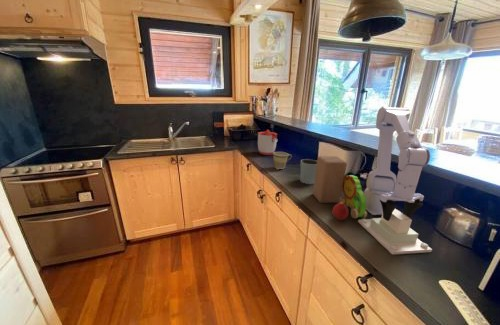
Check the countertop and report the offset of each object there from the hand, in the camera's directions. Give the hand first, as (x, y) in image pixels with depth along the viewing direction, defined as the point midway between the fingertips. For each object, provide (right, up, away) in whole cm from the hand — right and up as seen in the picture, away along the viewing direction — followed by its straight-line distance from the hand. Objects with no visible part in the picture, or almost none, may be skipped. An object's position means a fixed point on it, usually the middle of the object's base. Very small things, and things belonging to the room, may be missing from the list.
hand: (395, 218), depth 74 cm
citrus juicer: (-37, +27, +101) cm, 111 cm away
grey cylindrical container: (-18, +9, +48) cm, 52 cm away
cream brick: (0, -3, +1) cm, 3 cm away
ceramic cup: (-30, +16, +68) cm, 76 cm away
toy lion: (-7, -1, +19) cm, 20 cm away
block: (-15, +2, +28) cm, 32 cm away
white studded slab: (0, -7, +2) cm, 7 cm away
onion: (-15, -3, +11) cm, 19 cm away
